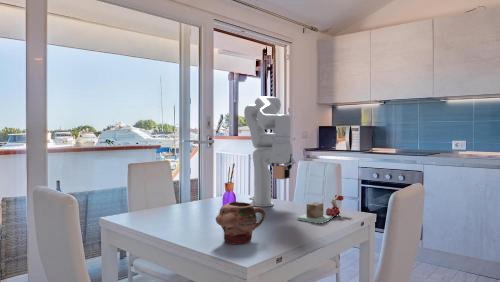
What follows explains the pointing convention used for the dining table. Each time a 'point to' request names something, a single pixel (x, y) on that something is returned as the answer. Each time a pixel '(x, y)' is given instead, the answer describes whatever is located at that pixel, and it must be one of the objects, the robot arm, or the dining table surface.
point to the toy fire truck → (334, 207)
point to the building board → (317, 220)
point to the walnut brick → (314, 210)
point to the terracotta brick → (279, 172)
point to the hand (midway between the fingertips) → (281, 177)
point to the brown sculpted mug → (239, 221)
